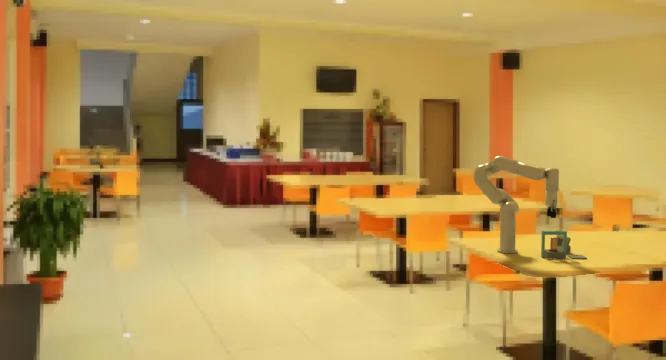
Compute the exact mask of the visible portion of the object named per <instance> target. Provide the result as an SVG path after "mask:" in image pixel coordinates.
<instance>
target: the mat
mask: <svg viewBox="0 0 666 360" xmlns="http://www.w3.org/2000/svg"><path fill="white" fill-rule="evenodd" d="M566 257H568V258H570V259H571V260H588V257H586V256H585V255H583V254H566Z"/></svg>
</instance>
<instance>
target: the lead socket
mask: <svg viewBox="0 0 666 360" xmlns="http://www.w3.org/2000/svg"><path fill="white" fill-rule="evenodd" d="M564 254H565V252H563V251H561V250H560V249H557V252H550V248H545V255H544V257H543V258H546V259H548V260H549V259H550V260H565V257H564Z"/></svg>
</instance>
